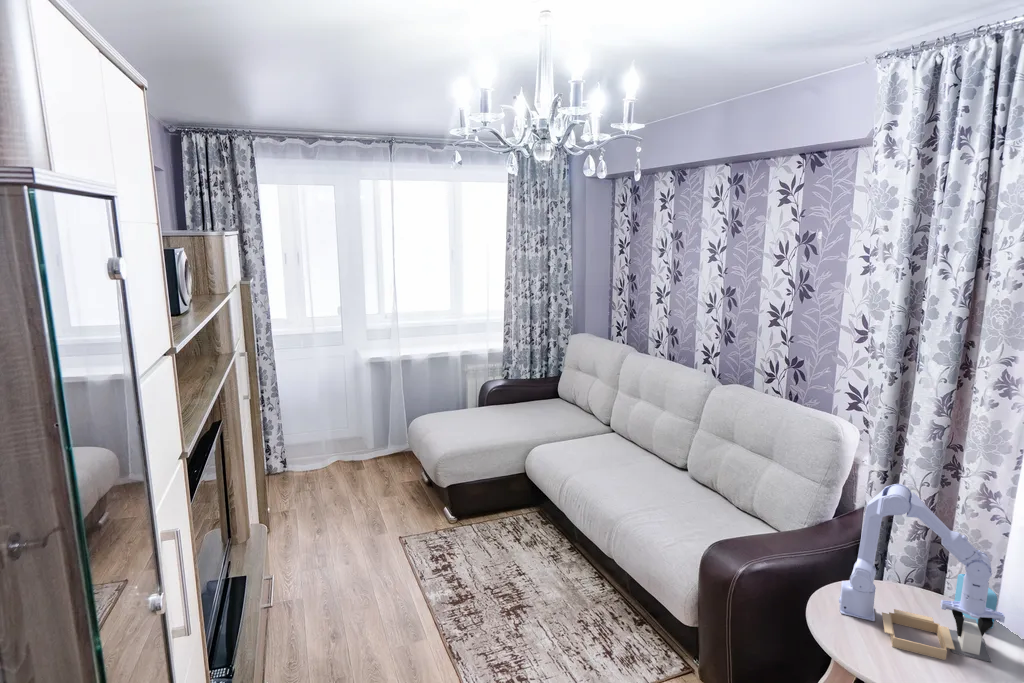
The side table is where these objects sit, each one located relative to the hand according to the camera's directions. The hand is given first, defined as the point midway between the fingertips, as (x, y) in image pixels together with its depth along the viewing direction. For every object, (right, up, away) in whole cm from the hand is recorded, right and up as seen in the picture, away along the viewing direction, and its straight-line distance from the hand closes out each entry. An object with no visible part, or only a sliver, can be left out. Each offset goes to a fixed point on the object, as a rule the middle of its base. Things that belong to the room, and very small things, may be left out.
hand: (968, 636), depth 175 cm
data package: (+11, -1, +12) cm, 16 cm away
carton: (-13, -2, +4) cm, 14 cm away
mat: (0, -3, +1) cm, 3 cm away
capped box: (0, -2, 0) cm, 2 cm away
